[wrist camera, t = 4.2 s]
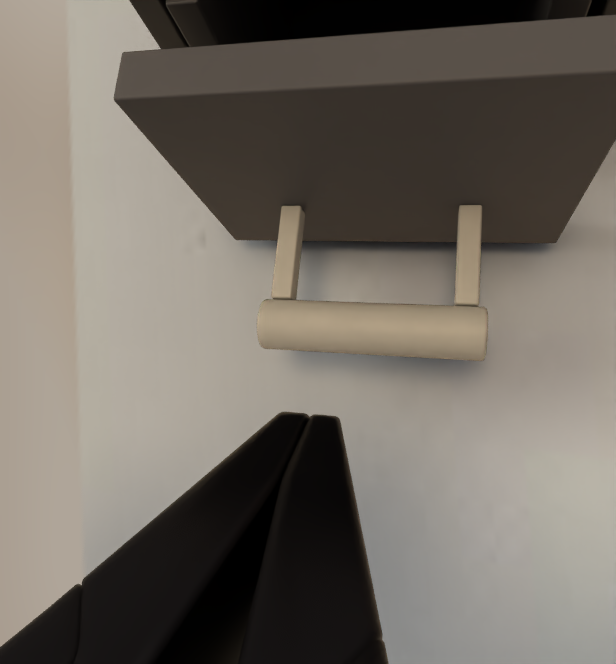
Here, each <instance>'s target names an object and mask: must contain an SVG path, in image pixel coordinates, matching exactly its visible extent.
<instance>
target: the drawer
mask: <svg viewBox="0 0 616 664" xmlns="http://www.w3.org/2000/svg"><path fill="white" fill-rule="evenodd" d="M591 2H592V0H166V7H167V8H168V10H169V12H170V14H171V15H172V17H173V19H174V20H175V22H176V24H177V26H178V27H179V29H180V31H181V33H182V34H183V36H184V38H185V40H186V41H187V43H188V45H189V46H190V47H185V48H172V49H159V50H146V51H133V52H124V53H123V54H122V57H121V63H120V68H119V73H118V78H117V83H116V88H115V94H114V101H115V102H116V103H117V104H118V105H119V106H120V108H121V109H122V110H123V111H124V112H125V113H126V114H127V116H128V117H129V118H130V119H131V120H132V121H133V123H134V124H135V125H136V126H137V127H138V128H139V129H140V131H141V132H142V133H143V134H144V135H145V136H146V137H147V139H148V140H149V141H150V142H151V143H152V144H153V145H154V147H155V148H156V149H157V150H158V151H159V152H160V154H161V155H162V156H163V157H164V158H165V159H166V160H167V162H168V163H169V164H170V165H171V166H172V167H173V168H174V170H175V171H176V172H177V173H178V174H179V175H180V176H181V178H182V179H183V180H184V181H185V182H186V183H187V185H188V186H189V187H190V188H191V189H192V190H193V191H194V193H195V194H196V195H197V196H198V197H199V198H200V199H201V201H202V202H203V203H204V204H205V205H206V206H207V207H208V209H209V210H210V211H211V212H212V213H213V214H214V215H215V217H216V218H217V219H218V220H219V221H220V222H221V224H222V225H223V226H224V227H225V228H226V229H227V230H228V232H229V233H230V234H231V235H232V236H233V237H234V238H235V239H236V240H278V242H277V251H276V260H275V268H274V277H273V286H272V294H271V296H272V298H273V299H266V300H264V301H263V302H262V304H261V306H260V309H259V312H258V318H257V335H258V340H259V343H260V345H261V347H263V348H265V349H280V350H297V351H315V352H332V353H350V354H367V355H385V356H403V357H420V358H438V359H455V360H473V361H482V360H484V358H485V355H486V349H487V338H488V312H487V309H486V308H485V307H478V305H479V292H480V261H481V242H494V243H556V242H557V240H558V238H559V236H560V235H561V233H562V231H563V230H564V228H565V226H566V224H567V223H568V221H569V219H570V217H571V216H572V214H573V212H574V211H575V209H576V207H577V205H578V204H579V202H580V200H581V198H582V197H583V195H584V193H585V192H586V190H587V188H588V186H589V185H590V183H591V181H592V179H593V178H594V176H595V174H596V173H597V171H598V169H599V167H600V166H601V164H602V162H603V160H604V159H605V157H606V155H607V154H608V152H609V150H610V148H611V147H612V145H613V143H614V141H615V140H616V15H603V16H590V17H586V16H587V13H588V10H589V7H590V4H591ZM302 241H393V242H457V255H456V279H455V303H454V306H444V305H416V304H388V303H360V302H331V301H303V300H296V296H297V286H298V277H299V267H300V258H301V248H302Z"/></svg>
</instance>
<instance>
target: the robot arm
mask: <svg viewBox="0 0 616 664" xmlns="http://www.w3.org/2000/svg"><path fill="white" fill-rule="evenodd" d="M0 664H388V658H387V653H386V648H385V644H384V642H383V641H382V630H381V625H380V620H379V615H378V610H377V605H376V600H375V594H374V589H373V584H372V579H371V574H370V569H369V564H368V559H367V554H366V549H365V544H364V539H363V534H362V529H361V524H360V519H359V514H358V508H357V503H356V498H355V493H354V488H353V483H352V478H351V473H350V468H349V463H348V458H347V453H346V448H345V443H344V438H343V433H342V427H341V423H340V419H339V418H338V417H336V416H327V415H316V414H315V415H312V416H310V417H309V416H308V415H307V414H305V413H294V412H281V413H279V414H278V415H276V416H275V417H274V418H273V419H272V420H270V421H269V422H268V423H267V424H266V425H264V426H263V427H262V428H261V429H260V430H259V431H257V432H256V433H255V434H254V435H253V436H251V437H250V438H249V439H248V440H247V441H246V442H244V443H243V444H242V445H241V446H240V447H238V448H237V449H236V450H235V451H234V452H233V453H231V454H230V455H229V456H228V457H227V458H225V459H224V460H223V461H222V462H221V463H220V464H218V465H217V466H216V467H215V468H214V469H212V470H211V471H210V472H209V473H208V474H207V475H205V476H204V477H203V478H202V479H201V480H199V481H198V482H197V483H196V484H195V485H194V486H192V487H191V488H190V489H189V490H188V491H186V492H185V493H184V494H183V495H182V496H181V497H179V498H178V499H177V500H176V501H175V502H173V503H172V504H171V505H170V506H169V507H168V508H166V509H165V510H164V511H163V512H162V513H160V514H159V515H158V516H157V517H156V518H155V519H153V520H152V521H151V522H150V523H149V524H147V525H146V526H145V527H144V528H143V529H142V530H140V531H139V532H138V533H137V534H136V535H134V536H133V537H132V538H131V539H130V540H129V541H127V542H126V543H125V544H124V545H123V546H121V547H120V548H119V549H118V550H117V551H116V552H114V553H113V554H112V555H111V556H110V557H108V558H107V559H106V560H105V561H104V562H103V563H101V564H100V565H99V566H98V567H97V568H95V569H94V570H93V571H92V572H91V573H90V574H88V575H87V576H86V577H85V578H84V579H83V581H82V585H80V584H77V585H75V586H74V587H73V588H72V589H70V590H69V591H68V592H67V593H66V594H64V595H63V596H62V597H61V598H60V599H59V600H57V601H56V602H55V603H54V604H53V605H51V606H50V607H49V608H48V609H47V610H45V611H44V612H43V613H42V614H40V615H39V616H38V617H37V618H35V619H34V620H33V621H32V622H31V623H29V624H28V625H27V626H26V627H24V628H23V629H22V630H21V631H19V632H18V633H17V634H16V635H15V636H13V637H12V638H11V639H10V640H8V641H7V642H6V643H5V644H3V645H2V646H1V647H0Z"/></svg>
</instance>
